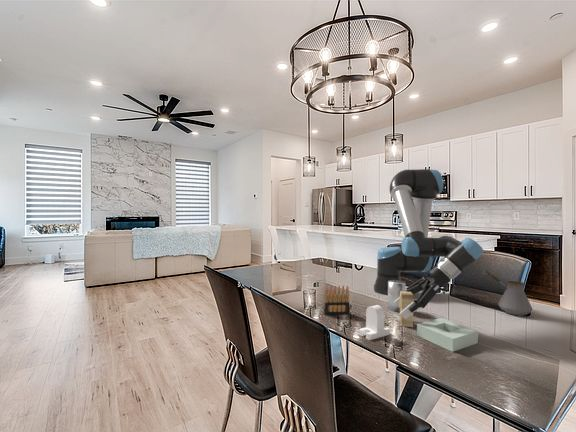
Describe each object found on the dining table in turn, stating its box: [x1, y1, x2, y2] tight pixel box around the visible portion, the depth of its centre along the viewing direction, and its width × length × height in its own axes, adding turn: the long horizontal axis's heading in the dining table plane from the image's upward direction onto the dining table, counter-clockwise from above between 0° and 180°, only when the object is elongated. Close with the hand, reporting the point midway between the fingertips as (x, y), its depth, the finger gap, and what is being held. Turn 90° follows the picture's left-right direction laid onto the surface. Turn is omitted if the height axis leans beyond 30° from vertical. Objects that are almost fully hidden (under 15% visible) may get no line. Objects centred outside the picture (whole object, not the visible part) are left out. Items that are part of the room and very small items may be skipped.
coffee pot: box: [483, 269, 533, 317], centre depth 128 cm, size 21×12×15 cm, turn 11°
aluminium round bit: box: [387, 280, 407, 313], centre depth 128 cm, size 7×7×12 cm
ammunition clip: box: [323, 284, 351, 316], centre depth 122 cm, size 11×2×12 cm, turn 93°
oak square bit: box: [399, 291, 414, 328], centre depth 111 cm, size 4×4×12 cm
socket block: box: [416, 317, 479, 353], centre depth 98 cm, size 13×13×4 cm
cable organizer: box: [358, 304, 391, 341], centre depth 102 cm, size 5×10×10 cm, turn 119°
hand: (399, 310), depth 111 cm, fingers open, 12 cm apart
